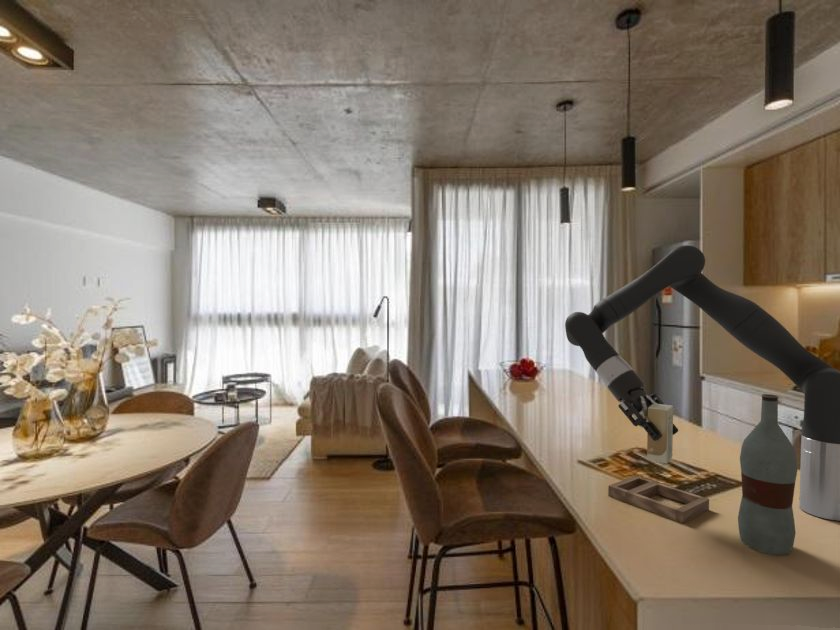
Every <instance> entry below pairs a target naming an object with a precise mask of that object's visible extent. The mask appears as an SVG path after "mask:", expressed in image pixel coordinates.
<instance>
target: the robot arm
mask: <svg viewBox="0 0 840 630" xmlns="http://www.w3.org/2000/svg"><path fill="white" fill-rule="evenodd" d="M705 265H706V258H705V255H704V253H703V252H702V250H700V249H699V248H698V247H696V246H693V245H686V244H685V245H684V244H683V245H680V246H677V247H675V248H673V249H672V250H671V251H669V252H668V253H667V255H666V256H664V257H663V258H662V259H661V260H660V261H658V262H657V263H656V264H655V265H653V266H652V267H651V268H650V269H648V270H647V271H646V272H644V273H643V274H642V275H640V276H638V277H637V278H635V279H634V280H632V281H630V282H629V283H627V284H626V285H624V286H622V287H620V288H619V289H617V290H615V291H614V292H612V293H610V294H609V295H607V296H606V297H604V298H602V299H601V300H599V301H598V302H597V303H596V304H595V305H594V306H593V307H592V309H591V311H590V313H588V314H587V313H585V312H581V311H575V312H572V313H570V314H569V315H568V316H567V318H566V319H565V323H564V327H565V334H566V335H565V336H566V338H567V340H568V342H569V343H570V344H572V345H573V346H576V347H580V349H581V350H582V352H583V355H584V357H585V359H586V361H587V362H588V364H589V365H590V366H591V367H592V369H593V370H594V371H595V372H596V374H597V376H598V377H599V379H600V380H601V382H602V383H603V384H604V385H605V387H606V388H607V389H608V390H609V392H610V393H611V394H612V396H613V397H614V398H615V399H616V400H617V401H618V402H619V404H618V407H617V408H619V409H620V410H621V412H622V413H623V414H624V415H625V416H626V418H627V419H628V420H629V421H630V423H631V424H632V425H633V426H634V427H638V426H639V427H640V428H643V429H644V430H645V432H646V434H647V433H648V434H649V435H650V437H651V438H652V439H653V440H654V441H657V440H658V439H660V438H661V437H662V434H661V433H660V431H659V430H658V429H657V428H656V426H655V425H654V424H653V423H652V422H650V419H649V418H648V407H649V406H651V405H652V404H654V403H655V404H664V402H663V401H662V399H661V398H660V397H659V396H658V394H657V393H655V392H653V393H651V394H650V395H649V394H648V393H646V391H644V388H645V387H646V384H645V382H644V380H643V379H641V378H640V376H639V375H638V374H637V372H636V371H635V370H634V369H633V368H632V367H631V366H630V364H629V363H628V361H626V360H625V359H624V358H623V357H622V356H621V355H620V354H619V353H618V352H617V351H616V350H615V349H614V347H613V346H612V345H611V344H610V343H609V342H608V340H607V339H606V337H605V335H604V334H603V333H605V332H606V331H607V330H608V329H609V328H610V327H611V326H612V325H614V324H617V323H618V322H619V321H621V320H623V319H624V318H626V317H628V316H630V315H631V314H632V313H634V312H635V311H637V310H639V308H641V307H642V306H643V305H644V304H645V303H648V301H650V300H651V299H652V298H653V297H654V296H656V295H658V294H659V293H660V292H662V291H664V290H666V289H667V288H668V287H670V288H671V289H673V290H674V291H676V292H677V293H679V294H680V295H682V296H683V297H684V298H686V299H687V300H689V301H691V302H692V303H693V304H694V305H696V306H697V307H698V308H700V309H701V310H702V311H703V312H704V313H705V314H706V315H708V316H709V317H710V318H712V320H713V321H714V322H716V323H717V324H719V326H720V327H722V328H723V329H724V330H725V331H726V332H727V333H728V334H730V335H731V336H732V337H734V339H736V340H737V341H738V342H739V343H740V344H742V345H743V346H744V347H745V348H747V349H749V350H750V351H751V352H752V353H754V354H756V355H757V356H759V357H761V359H763V360H765V361H767V362H769V363H770V364H772V365H773V366H775V367H776V368H777V369H779V370H780V371H781V372H782V373H783V374H784V375H785V376H786V377H787V378H789V380H791V381H792V382H793V384H794V385H795V386H796V387H797V388H798V389H799V390H800V391H801V392H802V393H803V396H804V401H803V403H804V405H803V419H802V424H801V439H800V440H801V445H800V469H799V471H800V472H799V474H800V475H799V496H798V497H799V498H798V499H799V502H798V503H799V504H798V506H799V507H798V508H799V509H800V510H802V511H804V512H805V513H807V514H809V515H812V516H815V517H817V518H818V517H819V518H822V519H826V520H831V521H839V522H840V370H839V369H837V368H835V367H833V366H832V365H830V364H828V363H827V362H825V361H824V360H822V359H821V358H819V357H818V356H816V355H815V354H814V353H812V352H810V351H809V350H808V349H807V348H805V347H804V346H803V345H802V344H801V343H800V342H799V341H798V340H797V339H796V337H794V336H793V335H792V334H791V332H790V331H788V330H787V329H786V328H785V326H783V324H781V322H779V321H778V320H777V319H776V318H775V317H773V316H772V314H770V313H769V312H768V311H766V310H765V309H763V308H762V307H760V305H758V304H757V303H756V302H754V301H753V300H750V299H749V298H746V297H744V296H742V295H740V294H735V293H733V292H731V291H727V290H726V289H723V288H721V287H720V286H718V285H717V284H715V283H714V282H712V281H711V280H710V279H709V278H708V277H707V276H706V275H705V274H704V273H703V271H704V268H705ZM664 405H665V404H664ZM678 432H679V428H678V427H677V426H676V424H674V423H673V436H674V435H675V434H677V433H678Z"/></svg>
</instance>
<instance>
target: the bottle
mask: <svg viewBox="0 0 840 630" xmlns="http://www.w3.org/2000/svg"><path fill="white" fill-rule="evenodd" d="M779 398H780V397H779V396H778V395H775V394H771V393H770V394H769V393H766V394H765V393H762V395H761V407H760V408H761V409H760V411H761V412H760V421H759V422H758V423H757V424H756V425H755V427H754V428H753V429H752V430H751V431H750V432H749V434H748V435H747V436H746V437H745V438H744V439H743V441H742V445H741V448H740V455H739V464H740V473H741V492H742V493H741V494H742V496H741V500H740V505H739V508H738V509H739V510H738V515H737V523H738V524H737V525H738V531H739V532H738V533H739V537H740V540H741V542H742V543H743V544H744V545H746V546H747V547H748V548H750V549H753V550H755V551H758V552H760V553H764V554H766V555H767V554H769V555H773V556H787V555H789V554H790V553H791V552H792V550H793V547H794V544H795V539H796V538H795V537H796V533H797V532H796V525H795V516H794V511H793V502H794V495H795V488H796V487H795V486H796V482H797V481H796V480H797V479H796V478H797V474H798V470H799V469H798V468H799V467H798V460H797V459H798V458H797V453H796V450H795V447H794V445H793V444H792V442H791V441H790V440H789V438H788V437H787V435H786V433H785V432H784V430H783V429H782V427H781V426H780V424H779V423H778V422H779V421H778V420H779V419H778V418H779V417H778V416H779V414H778V413H779V409H778V407H779Z"/></svg>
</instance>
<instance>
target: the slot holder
mask: <svg viewBox="0 0 840 630" xmlns="http://www.w3.org/2000/svg"><path fill="white" fill-rule="evenodd" d="M607 487H608V490H607V492H608V493H607V494H608V495H607V496H608V497H610V498H614V499H616V500H619V501H621V502H625V503H627V504H629V505H632V506H635V507H638V508H640V509H643V510H646V511H647V512H651V513H654V514H656V515H660V516H662V517H664V518H667V519H671V520H673V521H674V522H678V523H681V524H685V523H686V522H688V521H690V520H692V519H693V518H696V517H697V516H700V515H701V514H703V513H705V512H707V511H709V509H710V499H709V498H708V497H704V496H701V495H698V494H694V493H692V492H689V491H686V490H684V489H683V490H682V489H679V488H676V487H673V486H669V485H667V484H663V483H660V482H658V481H654V480H651V479H648V478H644V477H641V476H638V475H634V476H631V477H628V478H625V479H623V480H620V481H618V482H615V483H612V484H609V485H608V486H607ZM657 495H659V496H662V497H663V498H664V497H665V498H667V499H671V500H673V501H676V502H679V503H682V504H685V505H682V506H680V507H679V508H678V507H676V506H673V505H670V504H667V503H666V502H665V503H664V502H662V501H659V500H656V499H653V498H652V497H655V496H657Z"/></svg>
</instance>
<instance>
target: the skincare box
mask: <svg viewBox="0 0 840 630" xmlns="http://www.w3.org/2000/svg"><path fill="white" fill-rule="evenodd" d="M648 418H649V419H650V422H652V423H653V424H654V425H655V426H656V428H657V429H658V430H659V431H660V433H661V434H662V437H661V438H660V439H658V440H657V441H654V440H653V439H652V438H651V437H650V435H649V434H648V433H647V432H646V434H647V438H646V442H647V443H646V444H647V445H646V449H647V450H646V460H647V461H652V462H657V463H661V464H665V465H666V464H669V462H670V461H671V459H672V458H673V447H674V446H673V445H674V444H673V441H674V439H673V437H674V435H673V424H674V405H671V404H655V403H654V404H652V405H651V406H649V407H648Z"/></svg>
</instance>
